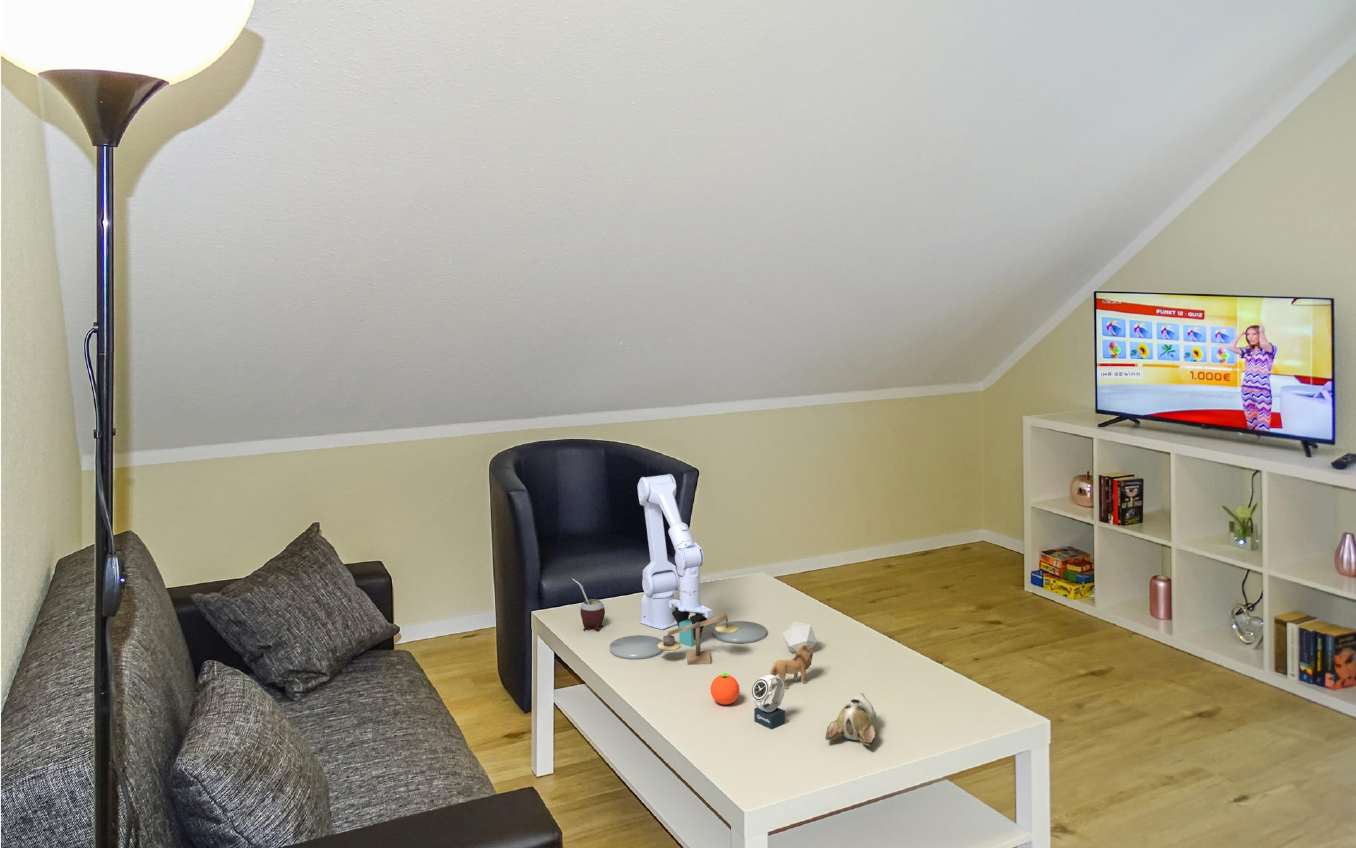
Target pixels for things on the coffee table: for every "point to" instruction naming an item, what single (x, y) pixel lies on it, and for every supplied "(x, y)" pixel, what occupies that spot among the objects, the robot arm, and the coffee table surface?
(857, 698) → the ceramic sculpture
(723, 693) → the clementine
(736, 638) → the grey round disc
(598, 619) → the mate gourd
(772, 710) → the watch
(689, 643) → the block
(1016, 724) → the coffee table surface
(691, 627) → the balance
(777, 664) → the lion figurine
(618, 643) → the dish low side
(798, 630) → the die
